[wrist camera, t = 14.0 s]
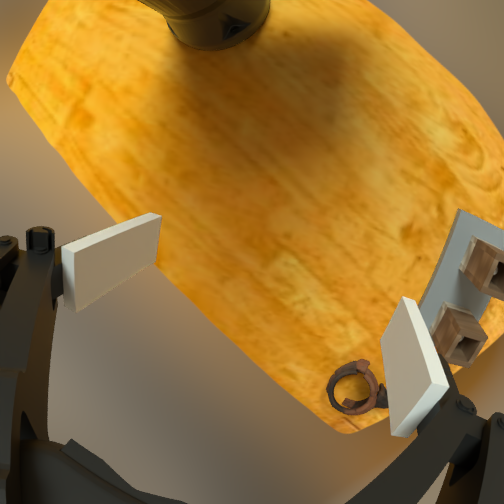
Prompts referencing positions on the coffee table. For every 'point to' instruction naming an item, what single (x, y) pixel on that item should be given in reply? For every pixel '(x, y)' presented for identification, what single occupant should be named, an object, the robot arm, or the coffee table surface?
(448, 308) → the sleeve loose
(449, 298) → the pin board
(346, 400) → the pottery mug
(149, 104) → the coffee table surface
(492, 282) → the sleeve seated
